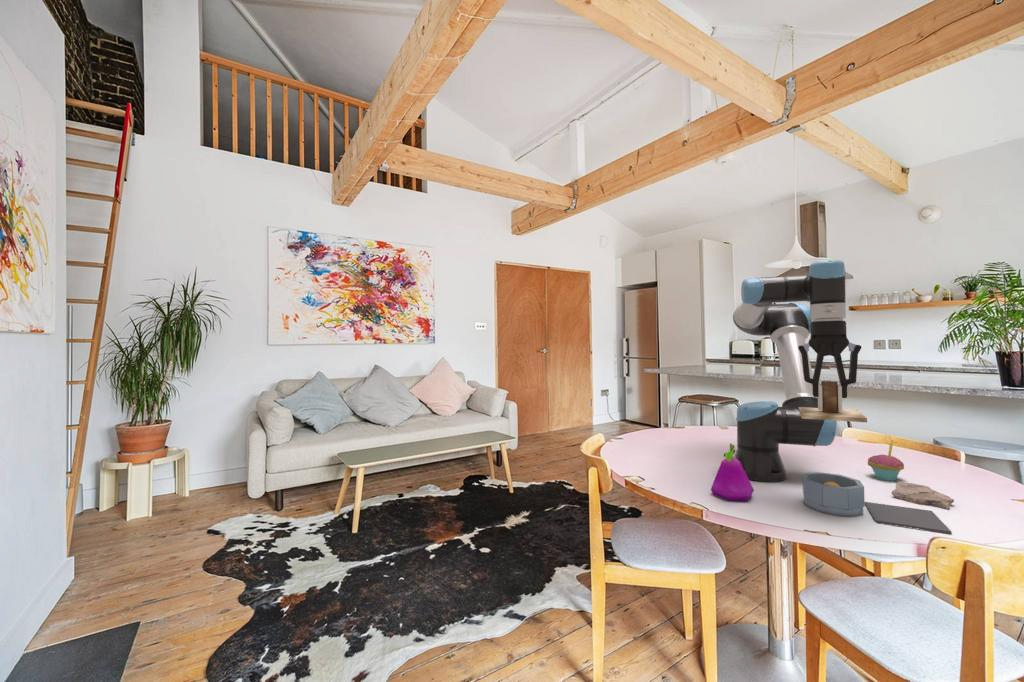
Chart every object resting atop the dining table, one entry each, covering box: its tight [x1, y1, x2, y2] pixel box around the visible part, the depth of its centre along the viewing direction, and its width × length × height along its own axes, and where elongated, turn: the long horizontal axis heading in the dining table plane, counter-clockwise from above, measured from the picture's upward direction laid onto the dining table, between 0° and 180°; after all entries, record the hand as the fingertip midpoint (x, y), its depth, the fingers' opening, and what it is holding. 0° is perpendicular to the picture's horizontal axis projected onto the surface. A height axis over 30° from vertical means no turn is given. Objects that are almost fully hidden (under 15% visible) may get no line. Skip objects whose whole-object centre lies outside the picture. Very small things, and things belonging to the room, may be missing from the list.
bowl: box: [801, 471, 866, 518], centre depth 111 cm, size 12×12×7 cm
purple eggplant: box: [710, 443, 755, 502], centre depth 120 cm, size 11×11×15 cm
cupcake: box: [867, 439, 905, 482], centre depth 131 cm, size 9×8×12 cm
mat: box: [864, 501, 953, 535], centre depth 103 cm, size 13×13×1 cm
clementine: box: [824, 482, 839, 486], centre depth 111 cm, size 4×4×4 cm
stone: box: [891, 481, 955, 510], centre depth 115 cm, size 12×12×3 cm
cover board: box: [798, 380, 868, 423], centre depth 111 cm, size 13×13×9 cm
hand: (829, 409), depth 111 cm, fingers closed on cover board, 3 cm apart
